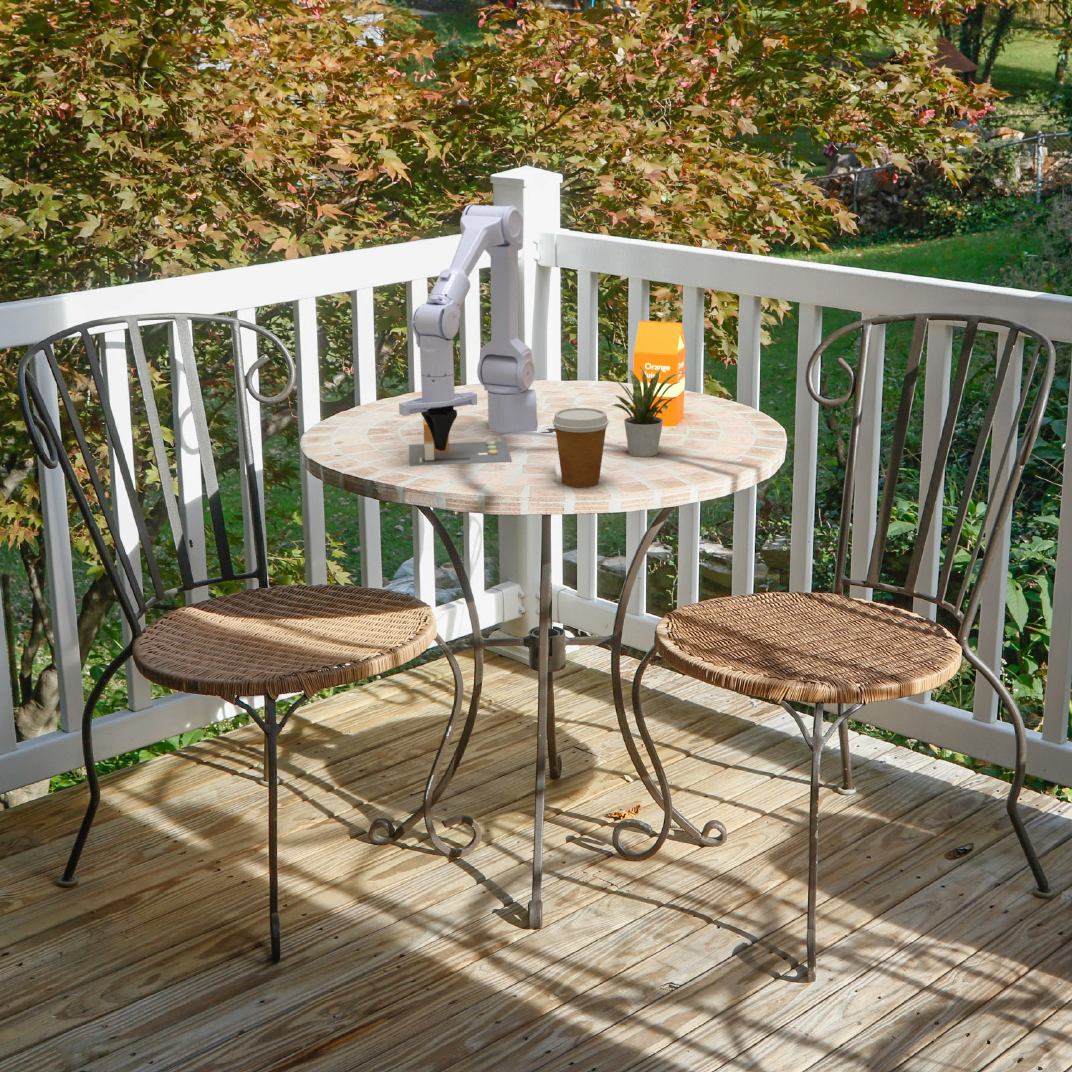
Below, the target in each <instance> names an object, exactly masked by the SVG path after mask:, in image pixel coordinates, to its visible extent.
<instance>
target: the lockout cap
mask: <svg viewBox="0 0 1072 1072" xmlns="http://www.w3.org/2000/svg"><path fill="white" fill-rule="evenodd" d="M422 423H423V443H424V442H428V441H433V443H434V440H433V437H432V434H431V431H430V429H429V427H428V425H427V423H426V421H425V419H424V418H423V419H422ZM449 435H450V434H449ZM449 435H448V439H447V444H446V449H445V450H443V451H440V450H437V449H436V448H435V444H434V453H440V452H449V443H450V442H449V441H450V440H449V439H450V438H449ZM424 449H425V446H424Z"/></svg>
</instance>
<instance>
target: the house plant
mask: <svg viewBox="0 0 1072 1072" xmlns="http://www.w3.org/2000/svg"><path fill="white" fill-rule="evenodd" d="M639 366H640V365H639ZM638 369H639V368H638ZM640 369H641V371H642V373H641V371H640V373H641V376H642V374H643V376H642V380H643V382H642V383H643V397H642V390H641V385H640V384H642V383H640V381H639V379H638V378H637V377H636V375H635V374H634V372H633V371H632V370H631V369H629V373H630V374H629V375H630V379H631V382H632V392H631V391H630V389H629V388H628V386H626V385H623V384H622V383H621V382H619V381H618V380H617V379H615V378H614V377H611V376H608V375H606V376H607V377H608V378H611V379H612V380H614V381H615V382H616V383H617V384H618V385H620V387H621V388H622V389H623V390H624V392H625V393H626V394H627V396H628V397H629V399H630V401H631V402H629V401H627V400H626V399H625V398H624V397H622V396H620V395H615V397H616V398H618V400H620V402H621V403H622V404H624V405H625V406H626V407H625V406H624V405H622V404H620V403H619V404H618V403H615V404H612V405H611V407H612V406H613V407H616V408H619V409H621V410H623V411H624V412H626V413H627V414H628V416H629V417H625V419H624V420H623V423H624V428H625V435H626V440H627V448H628V454H629V455H630V456H634V457H636V458H637V457H640V458H649V457H650V456H651V457H653V456H654V455H655V456H656V455H657V454H658V451H659V445H660V439H661V434H662V430H663V426H662V424H663V420H662V419H661V418H658V417H656V415H657V414H658V413H661V414H662V415H663V412H662V411H661V409H662V408H664V409H666V411H667V408H668V406H667V405H666V404H667V403H668V402H670V401H672V399H674V398H676V397H681V396H676V397H673V398H670V399H669V400H668V399H661V398H662V396H663V395H664V394H665V392H666V391H667V390H668V389H669V388H670V387H671V386H673V385H674V384H677V383H682V382H676V383H673V384H671V385H670V386H668V387H667V388H666V389H665V391H664V392H663V393H662V395H661V397H660V398H659V400H658V401H657V402H655V404H654V405H653V406H652V407H651V405H652V403H653V402H654V400H655V398H656V396H657V395H658V393H659V392H660V390H661V389H662V387H663V386H664V385H665V384H666V382H667V381H669V380H670V379H671V378H673V377H674V376H676V375H678V374H683V373H677V374H673V375H671V376H669V377H668V378H666V379H665V380H664V381H663V382H662V384H661V385H660V386H659V388H658V390H657V391H656V393H655V395H654V396H653V394H654V391H655V388H656V385H657V382H658V380H659V376H660V371H661V369H659V370H658V371H657V372H656V373H655V375H654V377H653V378H652V379H651V380H650V385H649V387H648V382H647V377H646V374H645V372H644V370H643V369H642V368H641V367H640ZM640 369H639V370H640ZM669 382H675V381H669ZM667 383H668V382H667ZM633 400H634V401H633ZM665 400H668V401H666V402H665V403H664V404H663V405H662V406H658V407H656V406H657V405H658V404H659V403H661V402H662V401H665ZM672 402H673V401H672ZM673 403H674V402H673ZM633 404H634V405H635V407H634V406H633ZM659 407H661V408H660V409H659V410H657V409H658V408H659ZM650 408H651V409H650ZM655 412H656V414H655ZM631 413H632V414H631ZM633 414H634V416H633ZM654 414H655V415H654Z"/></svg>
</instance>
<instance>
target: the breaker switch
mask: <svg viewBox="0 0 1072 1072" xmlns="http://www.w3.org/2000/svg"><path fill="white" fill-rule="evenodd" d="M423 444H424V446H425V460H434V443H433V441H428V442H424V441H423Z"/></svg>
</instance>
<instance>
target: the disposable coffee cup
mask: <svg viewBox="0 0 1072 1072" xmlns="http://www.w3.org/2000/svg"><path fill="white" fill-rule="evenodd" d="M609 423H610V420H609V419H608V415H607V413H606V412H605V411H604V410H602V409H600V408H599V409H598V408H591V407H571V408H570V407H569V408H564V409H560V410H557V411H556V412H555V413H554V417H553V419H552V424H553V427H554V428H555V437H556V445H557V452H558V459H559V466H560V475H561V481H562V482H561V483H562V484H564V486H568V487H573V488H587V487H588V488H589V487H593V485H594V486H596V485H598V484H599V483H600V477H601V470H602V469H601V468H602V462H603V453H604V446H605V438H606V430H607V428H608V424H609Z"/></svg>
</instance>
